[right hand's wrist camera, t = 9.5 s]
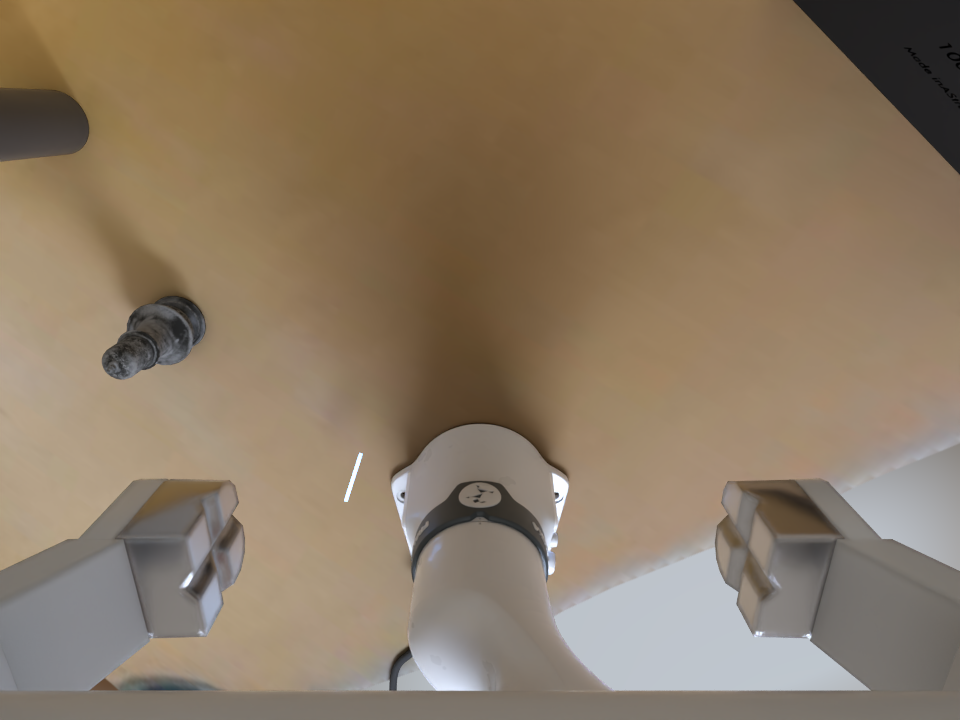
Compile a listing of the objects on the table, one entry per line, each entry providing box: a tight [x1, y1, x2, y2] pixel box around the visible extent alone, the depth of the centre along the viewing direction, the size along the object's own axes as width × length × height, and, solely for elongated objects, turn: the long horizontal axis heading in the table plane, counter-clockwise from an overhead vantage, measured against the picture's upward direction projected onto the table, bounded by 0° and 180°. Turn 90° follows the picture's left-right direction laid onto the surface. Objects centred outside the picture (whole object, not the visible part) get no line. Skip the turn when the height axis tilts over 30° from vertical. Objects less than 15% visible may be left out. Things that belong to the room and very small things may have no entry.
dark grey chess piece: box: [102, 296, 205, 379], centre depth 54 cm, size 6×6×12 cm
